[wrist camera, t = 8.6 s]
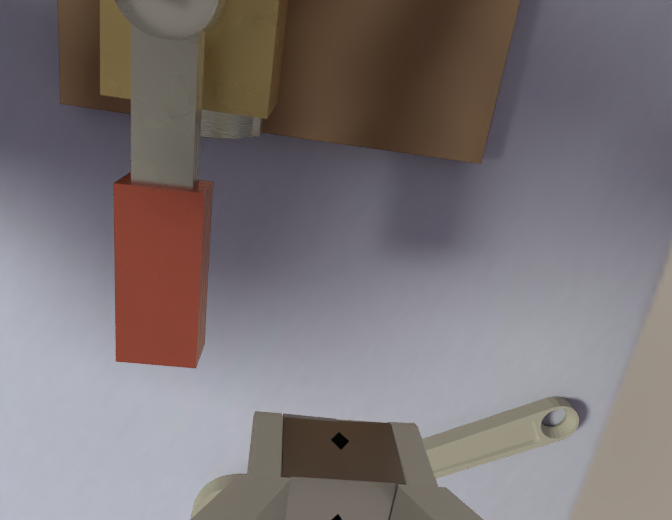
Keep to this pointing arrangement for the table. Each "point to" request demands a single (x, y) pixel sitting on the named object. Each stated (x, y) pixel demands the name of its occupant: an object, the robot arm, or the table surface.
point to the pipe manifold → (214, 64)
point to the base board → (354, 72)
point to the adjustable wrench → (471, 442)
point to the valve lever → (164, 188)
